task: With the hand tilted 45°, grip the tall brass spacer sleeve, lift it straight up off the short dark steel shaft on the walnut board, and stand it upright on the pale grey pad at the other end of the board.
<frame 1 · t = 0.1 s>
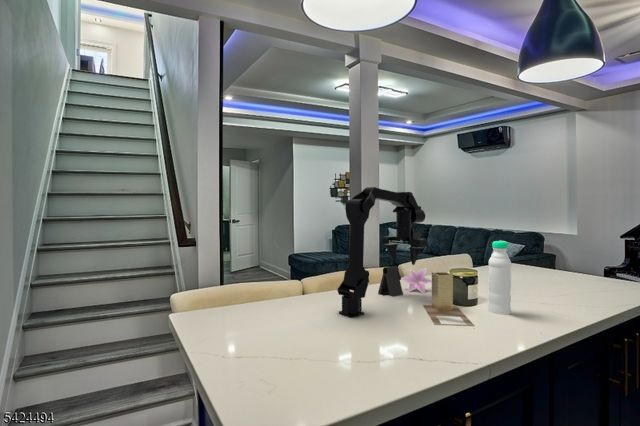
hand: (403, 263, 141), 15 cm above the worktop, tool pointing down, fingers open, 9 cm apart
spacer sleeve: (441, 308, 127), point 1 cm above the worktop, touching shaft board
shaft board: (446, 316, 120), on the worktop
lily: (416, 291, 157), on the worktop
water bottle: (499, 314, 124), on the worktop
phone stand: (390, 295, 149), on the worktop
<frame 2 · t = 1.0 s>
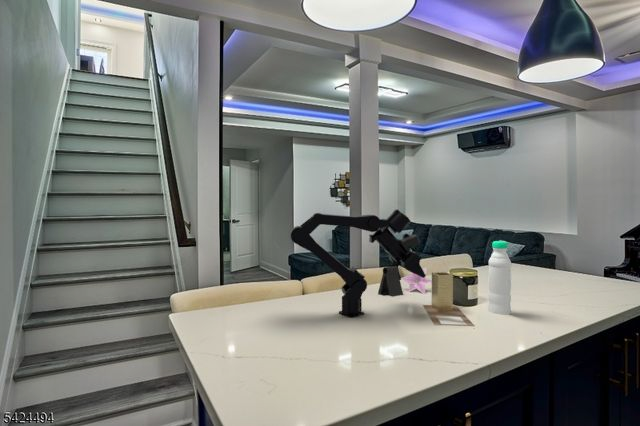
hand: (419, 274, 126), 13 cm above the worktop, tool tilted 45°, fingers open, 9 cm apart
nothing on the worktop moved.
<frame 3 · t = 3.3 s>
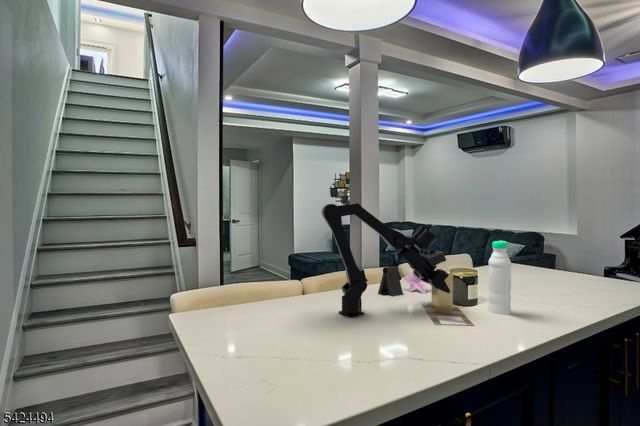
hand: (445, 290, 127), 7 cm above the worktop, tool tilted 45°, fingers closed on spacer sleeve, 5 cm apart
spacer sleeve: (441, 308, 127), point 1 cm above the worktop, touching gripper, shaft board
everything else where it was.
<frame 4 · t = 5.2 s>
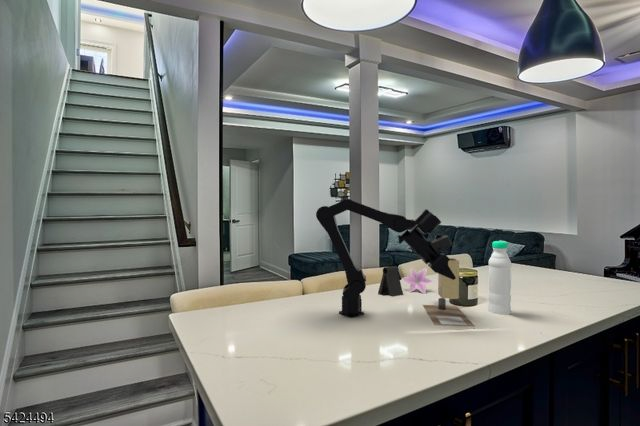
hand: (452, 277, 120), 13 cm above the worktop, tool tilted 45°, fingers closed on spacer sleeve, 5 cm apart
spacer sleeve: (448, 296, 120), point 7 cm above the worktop, touching gripper
everything else where it was.
when the fingers open (9 cm above the worktop, at t = 7.2 s): spacer sleeve drops 1 cm, resting on shaft board.
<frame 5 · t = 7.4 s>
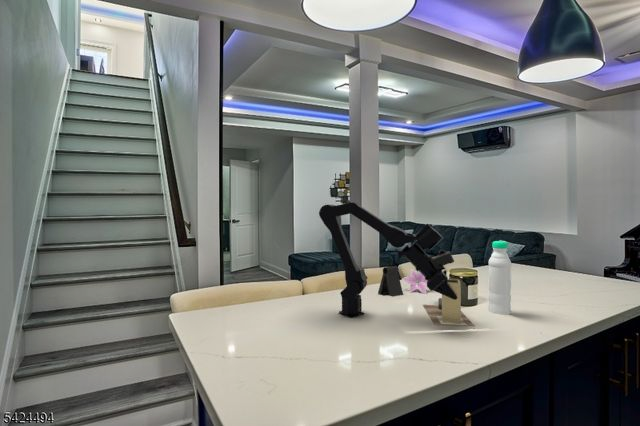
hand: (455, 295, 113), 9 cm above the worktop, tool tilted 45°, fingers open, 7 cm apart
spacer sleeve: (451, 320, 114), point 1 cm above the worktop, touching shaft board
everything else where it was.
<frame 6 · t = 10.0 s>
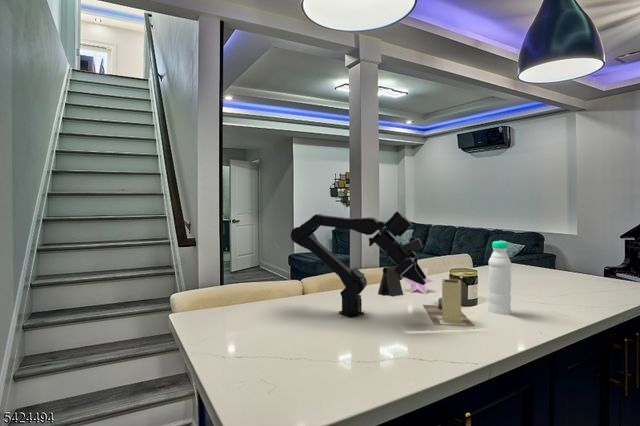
hand: (425, 281, 116), 13 cm above the worktop, tool tilted 45°, fingers open, 9 cm apart
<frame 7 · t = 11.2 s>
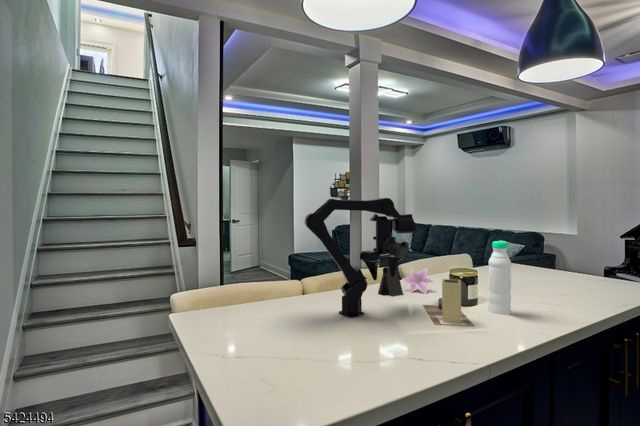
hand: (384, 278, 125), 12 cm above the worktop, tool pointing down, fingers open, 9 cm apart
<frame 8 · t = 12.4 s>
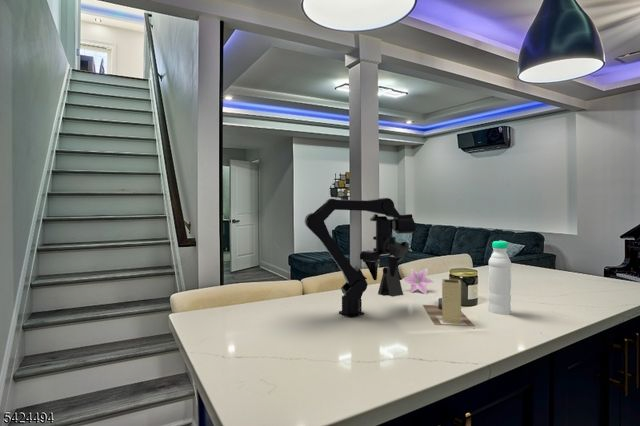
hand: (384, 278, 125), 12 cm above the worktop, tool pointing down, fingers open, 9 cm apart
at the end: spacer sleeve inside the target area (0.0 cm from its centre), point 0.9 cm above the worktop; spacer sleeve tilted 0°; the gripper is holding nothing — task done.
